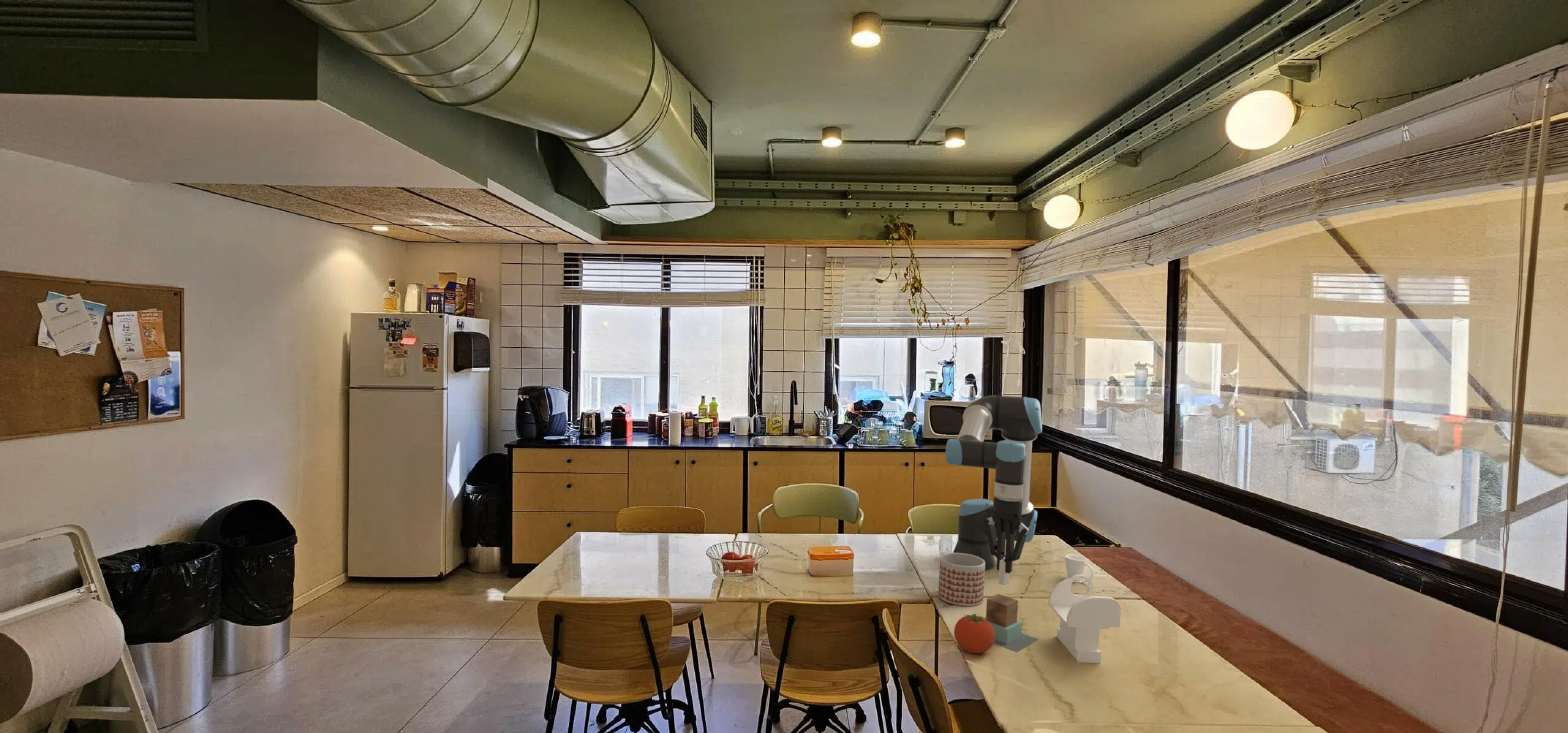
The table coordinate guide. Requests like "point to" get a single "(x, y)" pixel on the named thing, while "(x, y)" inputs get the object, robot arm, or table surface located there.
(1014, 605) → the walnut block
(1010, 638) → the teal base block
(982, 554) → the robot arm
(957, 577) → the planter
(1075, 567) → the cup
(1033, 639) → the build mat
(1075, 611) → the tape dispenser
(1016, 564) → the table surface
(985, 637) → the tomato
